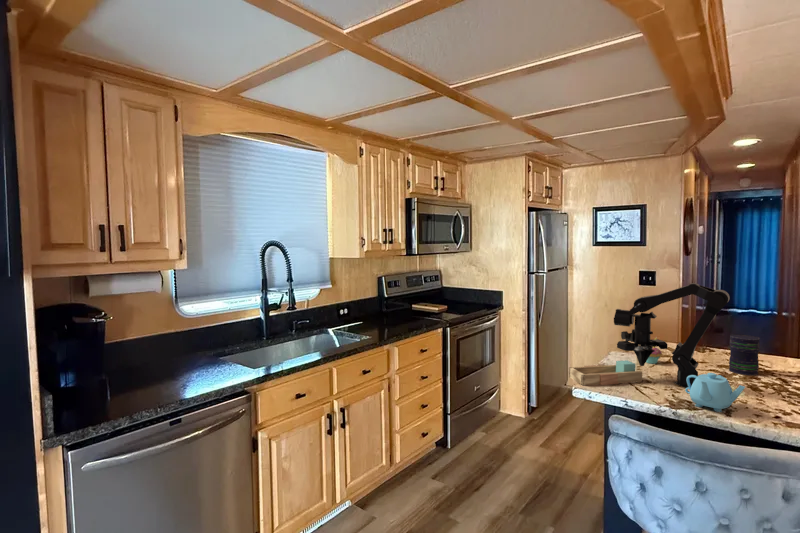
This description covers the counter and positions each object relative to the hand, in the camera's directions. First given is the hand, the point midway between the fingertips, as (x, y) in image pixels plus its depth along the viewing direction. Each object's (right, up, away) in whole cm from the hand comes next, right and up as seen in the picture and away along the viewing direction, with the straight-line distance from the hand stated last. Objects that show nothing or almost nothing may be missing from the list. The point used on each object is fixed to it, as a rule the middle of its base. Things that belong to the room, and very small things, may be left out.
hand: (641, 365), depth 177 cm
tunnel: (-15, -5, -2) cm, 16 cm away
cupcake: (+16, -3, +21) cm, 26 cm away
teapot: (+7, -7, -31) cm, 32 cm away
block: (-7, -3, -1) cm, 8 cm away
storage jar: (+46, -4, +6) cm, 47 cm away
